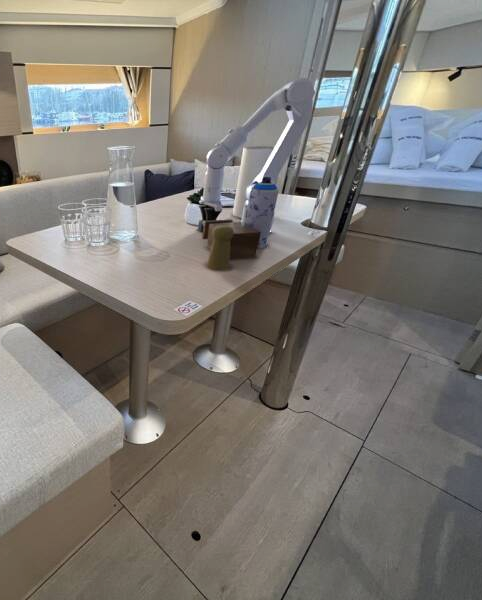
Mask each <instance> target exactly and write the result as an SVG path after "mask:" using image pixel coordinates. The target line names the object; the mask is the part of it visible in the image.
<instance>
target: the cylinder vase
mask: <svg viewBox="0 0 482 600" xmlns="http://www.w3.org/2000/svg"><path fill="white" fill-rule="evenodd" d="M275 146H276V145H257V146H256V145H255V146H254V145H253V146H244V147H243V148H242V155H241V160H240V161H241V162H240V166H239V172H238V179H237V185H236V190H235V197H234V202H233V207H232V209H233V210H232V215H233V216H234V217H236V218H239V219H242V214H243V209H244V203H245V202H246V201H247V198H246V196H245V191H246V189H247V187H248V186H249V185H250V184H252V183H253V181H254V180H255V178H256V177H257V176H258V175H259V174H260V173H261V171H262V169H263V168H264V166H265V164H266V162H267V160H268V158H269V157H270V155H271V153H272V151H273V149H274V148H275Z"/></svg>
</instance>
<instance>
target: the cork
mask: <svg viewBox="0 0 482 600" xmlns="http://www.w3.org/2000/svg"><path fill="white" fill-rule="evenodd" d="M233 234H234V231H233V229H232V228H231V227H229V226H217V227H215V228H214V229H213V232H212V236H213V238H214V240H213V244H212V247H211V251H210V250H209V255H208V258H207V261H206V268H208V269H210V270H212V271H227V270H229V269H230V268H231V267H230V266H231V265H230V263H231V262H230V261H231V259H230V240H231V239H232V237H233Z"/></svg>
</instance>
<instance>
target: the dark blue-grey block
mask: <svg viewBox="0 0 482 600" xmlns="http://www.w3.org/2000/svg"><path fill="white" fill-rule="evenodd" d="M203 221H206V220H202V219H200V220H198V226H197V231H198V232H200V233H203V228H204V226H203V224H202V223H203Z"/></svg>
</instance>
